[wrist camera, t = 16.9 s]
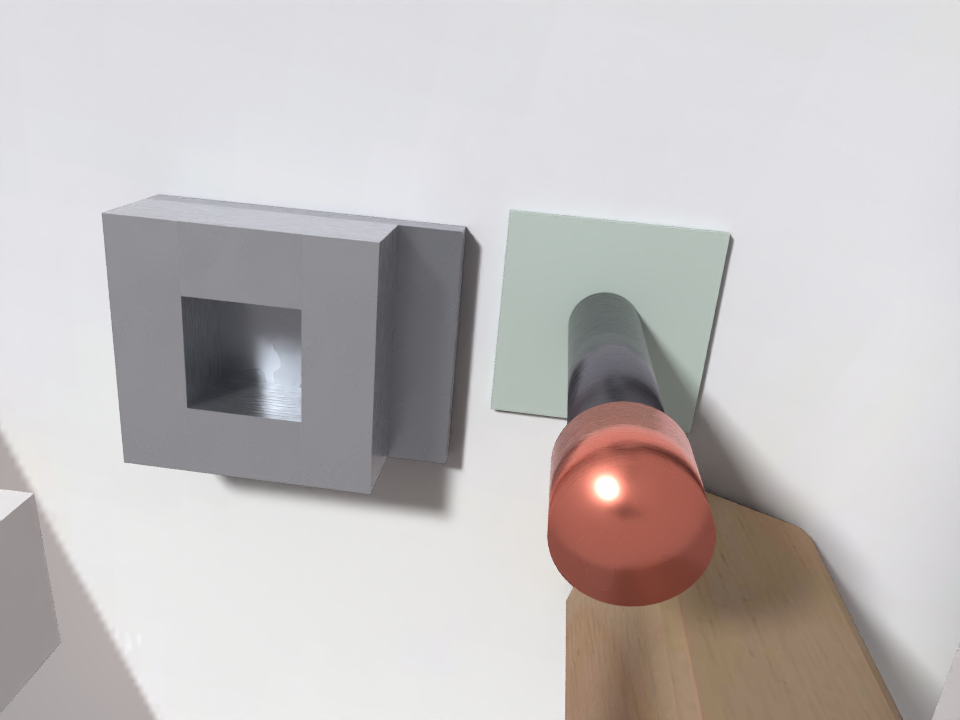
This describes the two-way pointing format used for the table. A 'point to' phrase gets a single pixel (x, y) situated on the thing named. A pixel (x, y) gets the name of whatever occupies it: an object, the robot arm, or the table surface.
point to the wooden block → (728, 639)
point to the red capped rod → (623, 470)
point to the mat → (595, 269)
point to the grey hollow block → (281, 339)
